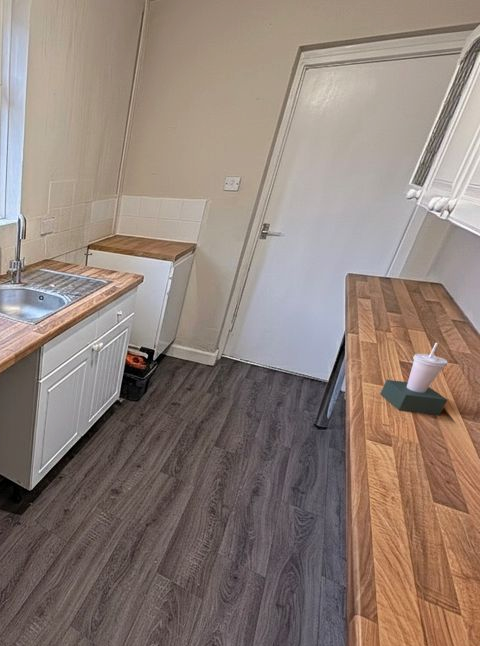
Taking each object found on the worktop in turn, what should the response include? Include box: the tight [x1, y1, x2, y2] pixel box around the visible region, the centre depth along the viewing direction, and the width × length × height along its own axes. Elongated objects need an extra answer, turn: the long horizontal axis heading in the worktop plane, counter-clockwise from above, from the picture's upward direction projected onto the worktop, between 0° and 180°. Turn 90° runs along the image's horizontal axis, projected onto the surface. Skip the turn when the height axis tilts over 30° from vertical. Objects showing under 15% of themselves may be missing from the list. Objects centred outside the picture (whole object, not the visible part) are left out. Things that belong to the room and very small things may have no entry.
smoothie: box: [407, 342, 449, 393], centre depth 113 cm, size 6×6×14 cm
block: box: [379, 379, 448, 416], centre depth 117 cm, size 9×9×5 cm
